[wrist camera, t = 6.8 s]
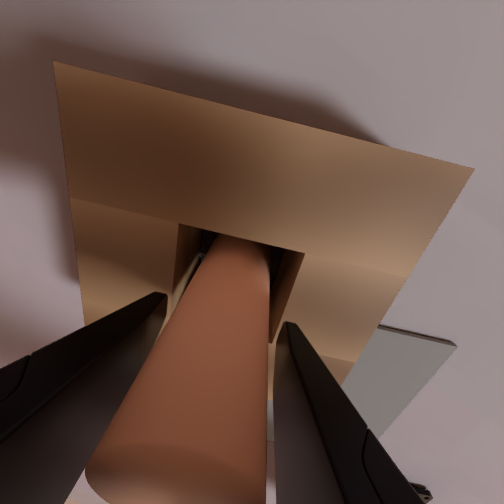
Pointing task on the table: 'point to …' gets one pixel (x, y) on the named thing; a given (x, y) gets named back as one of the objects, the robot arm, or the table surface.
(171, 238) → the socket block
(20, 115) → the table surface
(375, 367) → the mat
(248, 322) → the peg
